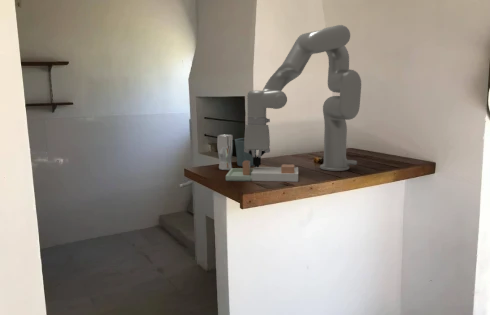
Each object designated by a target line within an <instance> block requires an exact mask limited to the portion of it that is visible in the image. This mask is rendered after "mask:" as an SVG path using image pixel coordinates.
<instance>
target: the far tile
mask: <svg viewBox="0 0 490 315" xmlns="http://www.w3.org/2000/svg"><path fill="white" fill-rule="evenodd" d="M242 164H243V166H242V168H243V175H249V174H250V173H251V170H250V169H251V166H250V161H244V162H243V163H242Z"/></svg>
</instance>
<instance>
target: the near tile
mask: <svg viewBox="0 0 490 315" xmlns="http://www.w3.org/2000/svg"><path fill="white" fill-rule="evenodd" d="M280 167H281V173H294V167H295V164H285V163H284V164H283V163H282V164H281V166H280Z"/></svg>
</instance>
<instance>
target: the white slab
mask: <svg viewBox="0 0 490 315" xmlns="http://www.w3.org/2000/svg"><path fill="white" fill-rule="evenodd" d="M252 169H253V171H252V173H251V181H252V182H292V183H293V182H294V183H298V182H299V167H298V166H297V167H296V166H294V173H281V166H259V167H255V166H253V168H252Z"/></svg>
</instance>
